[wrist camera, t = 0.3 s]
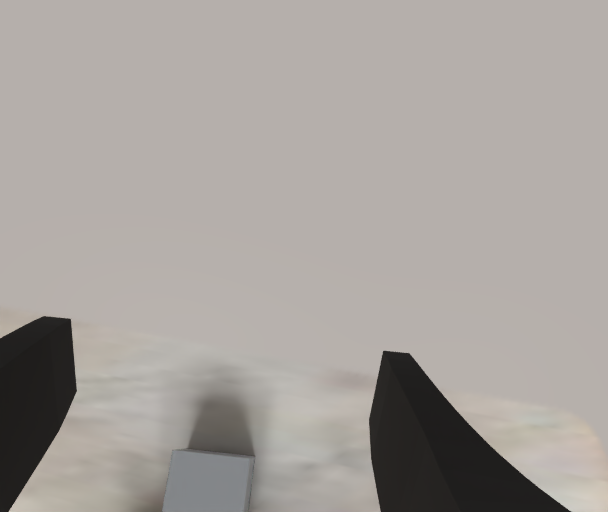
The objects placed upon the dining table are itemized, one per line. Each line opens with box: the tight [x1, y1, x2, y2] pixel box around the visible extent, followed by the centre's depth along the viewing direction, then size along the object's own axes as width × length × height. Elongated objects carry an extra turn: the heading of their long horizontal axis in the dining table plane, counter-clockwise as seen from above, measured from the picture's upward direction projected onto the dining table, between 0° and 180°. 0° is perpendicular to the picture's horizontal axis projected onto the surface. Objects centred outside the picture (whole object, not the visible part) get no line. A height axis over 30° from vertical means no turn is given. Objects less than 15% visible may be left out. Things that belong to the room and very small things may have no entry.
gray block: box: [162, 449, 255, 512], centre depth 36 cm, size 5×5×5 cm
